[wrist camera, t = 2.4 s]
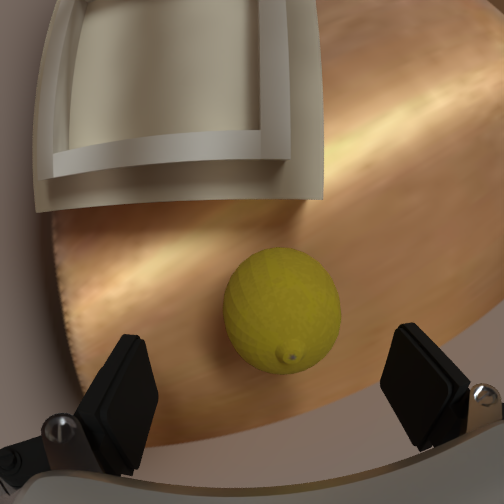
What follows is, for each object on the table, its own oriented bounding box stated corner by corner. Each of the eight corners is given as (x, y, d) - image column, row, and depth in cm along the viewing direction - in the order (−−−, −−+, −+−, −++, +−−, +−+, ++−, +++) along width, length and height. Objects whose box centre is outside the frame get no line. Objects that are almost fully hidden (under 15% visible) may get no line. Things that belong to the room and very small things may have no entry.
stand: (299, -27, 11) (311, -65, 7) (309, 193, 16) (332, 204, 11) (80, 3, 11) (50, -20, 7) (62, 204, 16) (20, 217, 11)
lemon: (335, 273, 17) (389, 346, 10) (273, 330, 18) (286, 423, 11) (273, 212, 16) (297, 254, 8) (209, 277, 17) (184, 359, 10)
